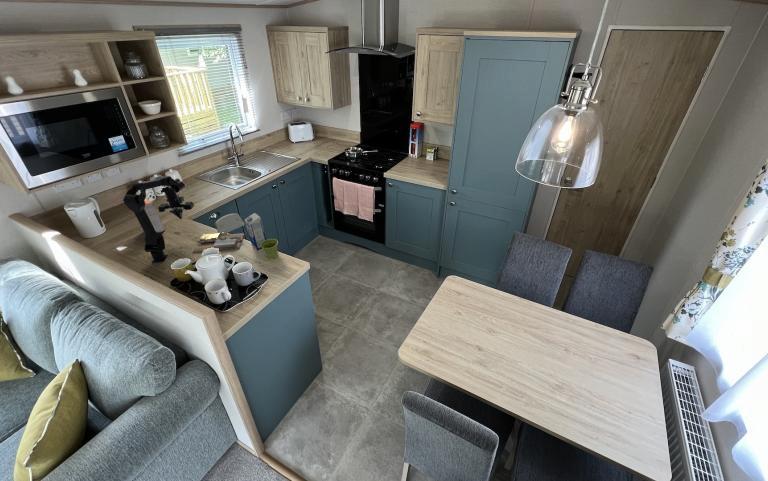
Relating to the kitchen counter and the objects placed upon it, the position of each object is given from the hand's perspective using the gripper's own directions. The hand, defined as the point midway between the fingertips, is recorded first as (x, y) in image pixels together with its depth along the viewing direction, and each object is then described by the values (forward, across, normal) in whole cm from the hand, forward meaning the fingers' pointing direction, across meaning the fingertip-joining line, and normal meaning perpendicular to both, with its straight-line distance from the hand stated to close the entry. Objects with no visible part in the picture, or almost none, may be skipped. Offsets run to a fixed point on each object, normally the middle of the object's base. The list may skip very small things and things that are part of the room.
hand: (181, 218), depth 211 cm
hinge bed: (+11, -24, +15) cm, 30 cm away
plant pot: (+11, -58, +33) cm, 68 cm away
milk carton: (+11, -49, +21) cm, 54 cm away
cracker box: (+12, +23, -10) cm, 28 cm away
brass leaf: (+10, -18, +11) cm, 23 cm away
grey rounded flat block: (+12, -26, -4) cm, 29 cm away
